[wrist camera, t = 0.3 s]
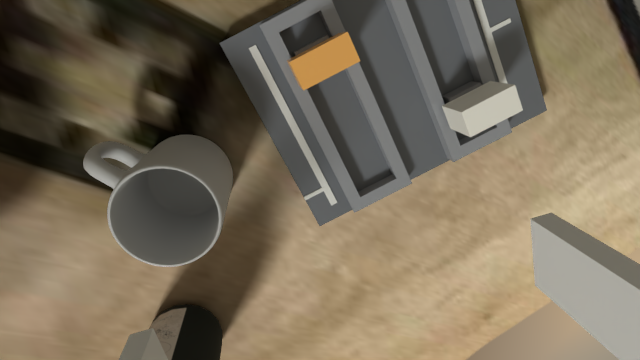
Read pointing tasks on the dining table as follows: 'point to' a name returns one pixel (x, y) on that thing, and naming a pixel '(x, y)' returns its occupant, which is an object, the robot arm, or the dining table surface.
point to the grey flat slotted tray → (380, 90)
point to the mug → (165, 197)
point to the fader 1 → (323, 59)
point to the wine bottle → (188, 333)
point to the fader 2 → (480, 106)
